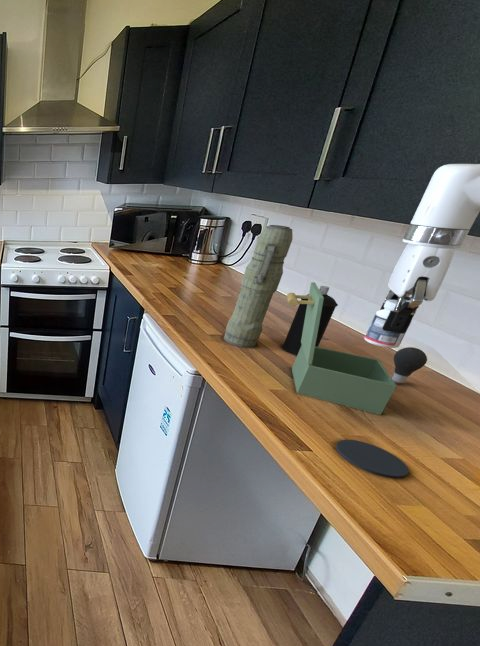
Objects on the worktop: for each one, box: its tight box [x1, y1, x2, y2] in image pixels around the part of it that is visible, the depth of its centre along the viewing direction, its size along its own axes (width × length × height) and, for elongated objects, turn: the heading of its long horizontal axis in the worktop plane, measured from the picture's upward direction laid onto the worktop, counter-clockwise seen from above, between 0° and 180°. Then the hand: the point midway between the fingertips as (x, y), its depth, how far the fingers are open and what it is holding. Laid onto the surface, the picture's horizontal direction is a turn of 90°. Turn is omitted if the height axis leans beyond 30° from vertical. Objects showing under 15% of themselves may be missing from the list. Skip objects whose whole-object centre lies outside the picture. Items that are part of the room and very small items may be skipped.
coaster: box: [335, 439, 409, 479], centre depth 75 cm, size 10×10×1 cm
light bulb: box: [391, 346, 428, 385], centre depth 101 cm, size 6×6×10 cm
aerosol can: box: [281, 285, 339, 356], centre depth 115 cm, size 8×8×20 cm
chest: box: [291, 345, 397, 416], centre depth 97 cm, size 15×15×8 cm
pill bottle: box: [364, 300, 413, 349], centre depth 81 cm, size 5×5×9 cm
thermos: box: [223, 224, 294, 349], centre depth 117 cm, size 9×12×35 cm
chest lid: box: [286, 282, 324, 364], centre depth 98 cm, size 16×15×6 cm
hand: (389, 326), depth 81 cm, fingers closed on pill bottle, 5 cm apart
